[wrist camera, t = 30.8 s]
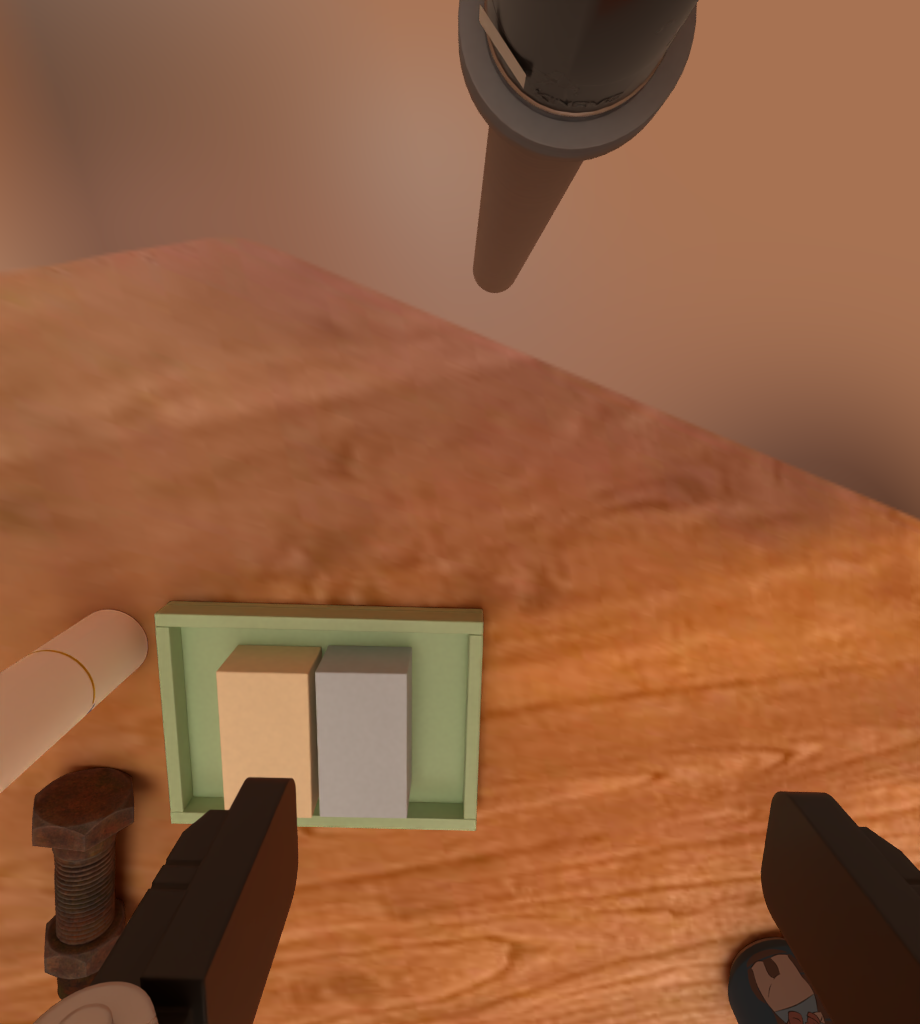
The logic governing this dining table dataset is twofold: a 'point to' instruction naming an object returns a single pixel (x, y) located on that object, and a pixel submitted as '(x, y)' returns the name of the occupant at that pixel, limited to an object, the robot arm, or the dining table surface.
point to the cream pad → (270, 719)
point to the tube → (63, 685)
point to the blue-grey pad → (364, 731)
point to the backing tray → (223, 626)
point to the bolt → (82, 870)
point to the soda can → (772, 987)
